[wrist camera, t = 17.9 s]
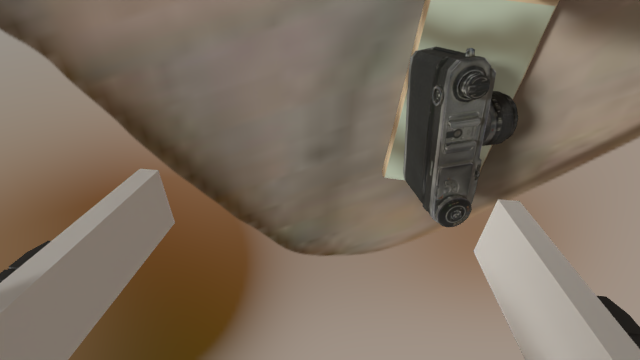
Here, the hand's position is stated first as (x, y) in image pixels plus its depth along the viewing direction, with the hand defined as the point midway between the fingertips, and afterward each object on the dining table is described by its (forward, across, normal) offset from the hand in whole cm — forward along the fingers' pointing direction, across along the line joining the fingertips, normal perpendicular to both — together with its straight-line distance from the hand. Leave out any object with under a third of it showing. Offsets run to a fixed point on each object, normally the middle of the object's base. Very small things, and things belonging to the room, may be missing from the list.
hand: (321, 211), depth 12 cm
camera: (+25, +13, -4) cm, 28 cm away
